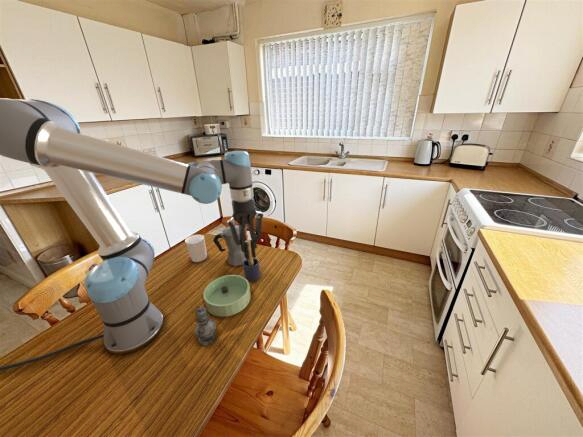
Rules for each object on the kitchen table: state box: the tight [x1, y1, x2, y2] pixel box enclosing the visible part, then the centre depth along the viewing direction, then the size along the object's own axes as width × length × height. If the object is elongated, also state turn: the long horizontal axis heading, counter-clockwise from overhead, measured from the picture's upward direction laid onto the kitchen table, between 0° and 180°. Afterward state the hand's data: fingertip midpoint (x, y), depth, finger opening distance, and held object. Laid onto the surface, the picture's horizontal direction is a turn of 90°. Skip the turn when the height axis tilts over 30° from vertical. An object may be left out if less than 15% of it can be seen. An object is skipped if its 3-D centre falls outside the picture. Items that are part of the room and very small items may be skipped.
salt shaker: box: [194, 306, 217, 346], centre depth 67 cm, size 6×6×12 cm
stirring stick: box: [245, 239, 254, 266], centre depth 90 cm, size 2×2×16 cm
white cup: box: [184, 234, 208, 263], centre depth 105 cm, size 8×8×10 cm
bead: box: [221, 286, 228, 293], centre depth 85 cm, size 2×2×2 cm
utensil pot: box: [242, 257, 261, 282], centre depth 92 cm, size 6×6×7 cm
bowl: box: [202, 274, 252, 318], centre depth 82 cm, size 15×15×5 cm
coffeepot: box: [213, 224, 249, 267], centre depth 100 cm, size 15×9×18 cm, turn 129°
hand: (250, 256), depth 90 cm, fingers closed on stirring stick, 2 cm apart
